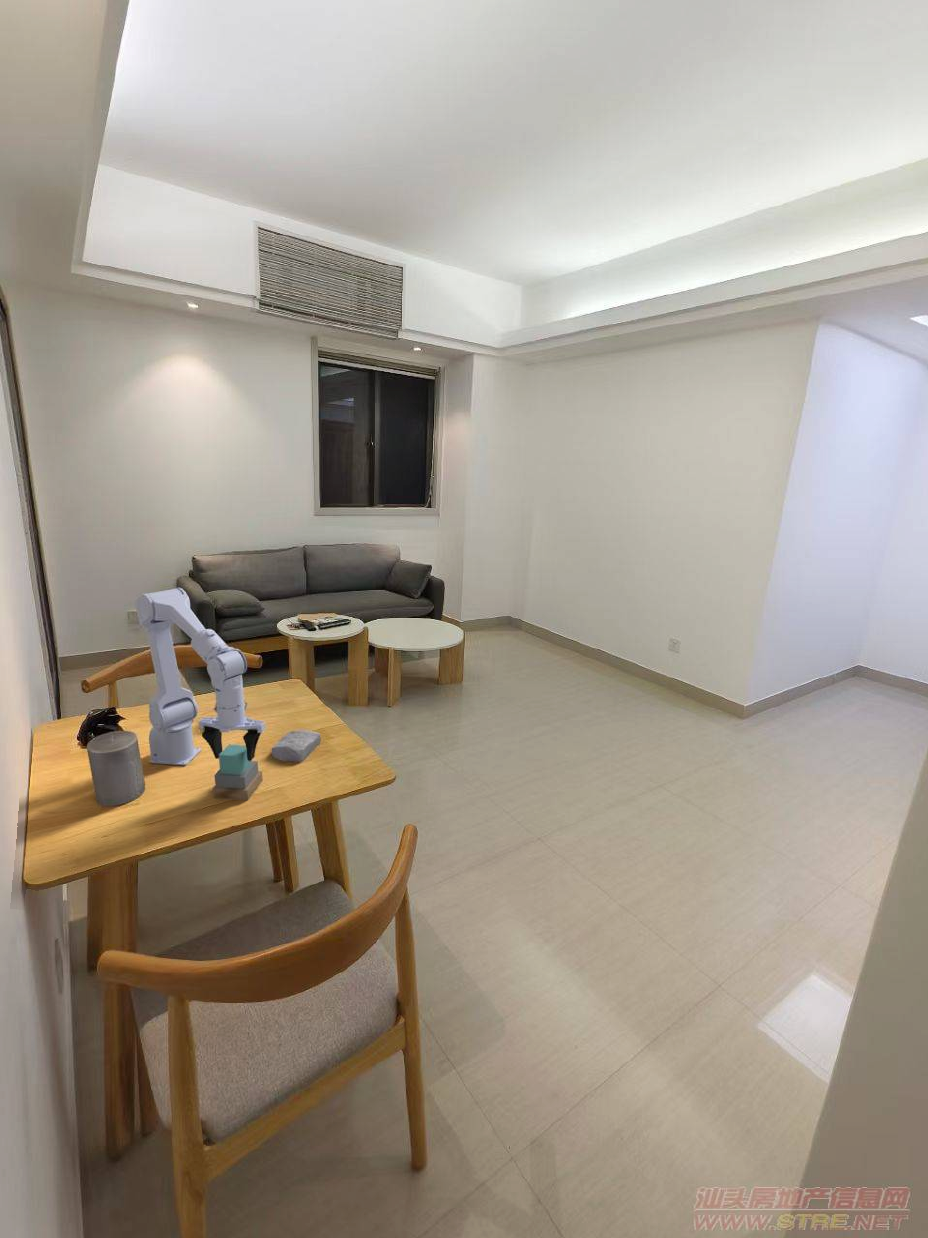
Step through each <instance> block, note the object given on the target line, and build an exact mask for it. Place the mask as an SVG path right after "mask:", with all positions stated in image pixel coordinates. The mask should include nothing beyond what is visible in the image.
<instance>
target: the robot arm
mask: <svg viewBox="0 0 928 1238" xmlns="http://www.w3.org/2000/svg"><path fill="white" fill-rule="evenodd" d="M134 605H135V610H136V615H137V618H138V622H139V623H138V624H139V626H140V628H145V631H146V636H147V639H148V640H147V641H148V646H149V650H150V655H151V659H152V663H153V670H154V673H155V678H156V679H155V680H156V682H157V689H158V691H157V692H156V693H155V694H154V695H153V696H152V698H151V699H149V701H148V707H149V711H148V718H149V722H150V724H151V726H152V727H151V729H150V731H149V734H148V743H149V749H150V751H149V752H150V760H149V763H150V764H161V765H174V766H176V765H177V766H186V765H188V764H189V763H190V762H191V761H192V760H193V759H194V758H196V756H197V755H198V754H199V753H200V752H201V751H202V748H201V747H195V746H194V737H193V727H192V726H193V725H192V724H194V722H195V720H194V719H196V718H197V716H198V714H199V707H198V703H197V702H196V700H195V697H194V694H193V692H192V691H191V690H189V689H187V688H185V687H182V683H181V678H180V673H179V669H178V664H177V658H176V657H177V656H176V651H175V648H174V642H173V638H172V632H171V628H170V627H171V626H172V624H173V623H174V624H175V625H176V626H177V627H179V629H181V630H182V631H183V633H185V634H186V635H187V636H188V637H189V638H190V639H191V641H190V645H191V648H192V649H193V650H194V651H195V653H197V655H198V656H199V657H200V658H201V660H203V661H204V662H205V664H207V665H206V669H207V673H208V675H209V677H210V680H211V685H212V687H213V688H214V691H215V693H214V694H215V705H216V706H217V713H216V714H217V716H212V717H201V719H200V720H198V729H200V730H203V732H201V737H202V739H204V740H205V741H206V742H207V744H208V746H209V747H210V749H211V751H212V754H213V756H214V759H217V760H219V754H220V753H221V752H222V751H223V742H222V740H223V739H222V736H223V735H222V733H229V732H231V731H247V732H246V733H245V734H244V735H243V736H242V738H243V741H244V744H245V746H246V749H247V759H248V761H253V760H254V758H255V755H256V749H257V744H258V741H259V739H260V736H261V734H263V732H264V731H265V730H266V721H263V720H262V721H261V720H257V719H253V718H250V717H247V716H246V710H245V708H244V700H245V698H244V697H245V696H244V685H243V674H244V673H246V672H247V671H248V670H247V669H248V662H247V659H246V656H245V655H244V654H243V652H242V650H240V649H238V648H234V647H233V646H229V645H228V644H226V643H227V642H225V641H224V640H223V639H222V638H221V636H219V634H218V633H216V631H215V630H214V629H211V628H207V629H206V627H205V626H204V625H203V624H202V622H201V621H200V620H199V618H198V617H197V616H196V614H195V613H194V611H193V610H192V609H191V601H190V597H189V595H188V594H187V592H186V591H185V590H184V589H183V588H181V587H176V588H172V589H167V590H166V589H165V590H160V591H155V592H149V593H141V594H139V595H138V596H137V599H136V600H135V603H134Z"/></svg>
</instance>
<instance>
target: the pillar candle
mask: <svg viewBox="0 0 928 1238" xmlns="http://www.w3.org/2000/svg"><path fill="white" fill-rule="evenodd" d="M86 750H87V757H88V763H89V767H90V773H91V779H92V783H93V790H94V796H95V800H96V803H98V805H100V806H102V807H117V806H120V805H123V804H126V803H129V802H132V801H134V800H136V799H138V798H140V797H141V796H142V795H143V794H144V792H145V790H146V787H145V786H146V782H145V777H144V771H143V770H144V769H143V763H142V758H141V752H140V745H139V739H138V735H137V733H136V732H134V731H131V730H114V731H110V732H106V733H102V734H100V735H97V736H96V737H93V738H92V739H91V740H89V741H88V742H87V744H86Z"/></svg>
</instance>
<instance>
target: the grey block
mask: <svg viewBox="0 0 928 1238" xmlns="http://www.w3.org/2000/svg"><path fill="white" fill-rule="evenodd" d="M258 765H259V764H258V761H257V760H251V761H250V765H249V766H248V768H247V769H246V770H245V771H244V772H243V773H242V774H241V775H231V774H220V769H219V770H218V771H216V773H215V774H214V775H213V776H214V786H215V787H225V788H239V789H246V788H247V786H248V785H249V784H250V782H251V781H252V780H253V779H254V777H255V776H256V775H257V773H258V771H259V766H258Z"/></svg>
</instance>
